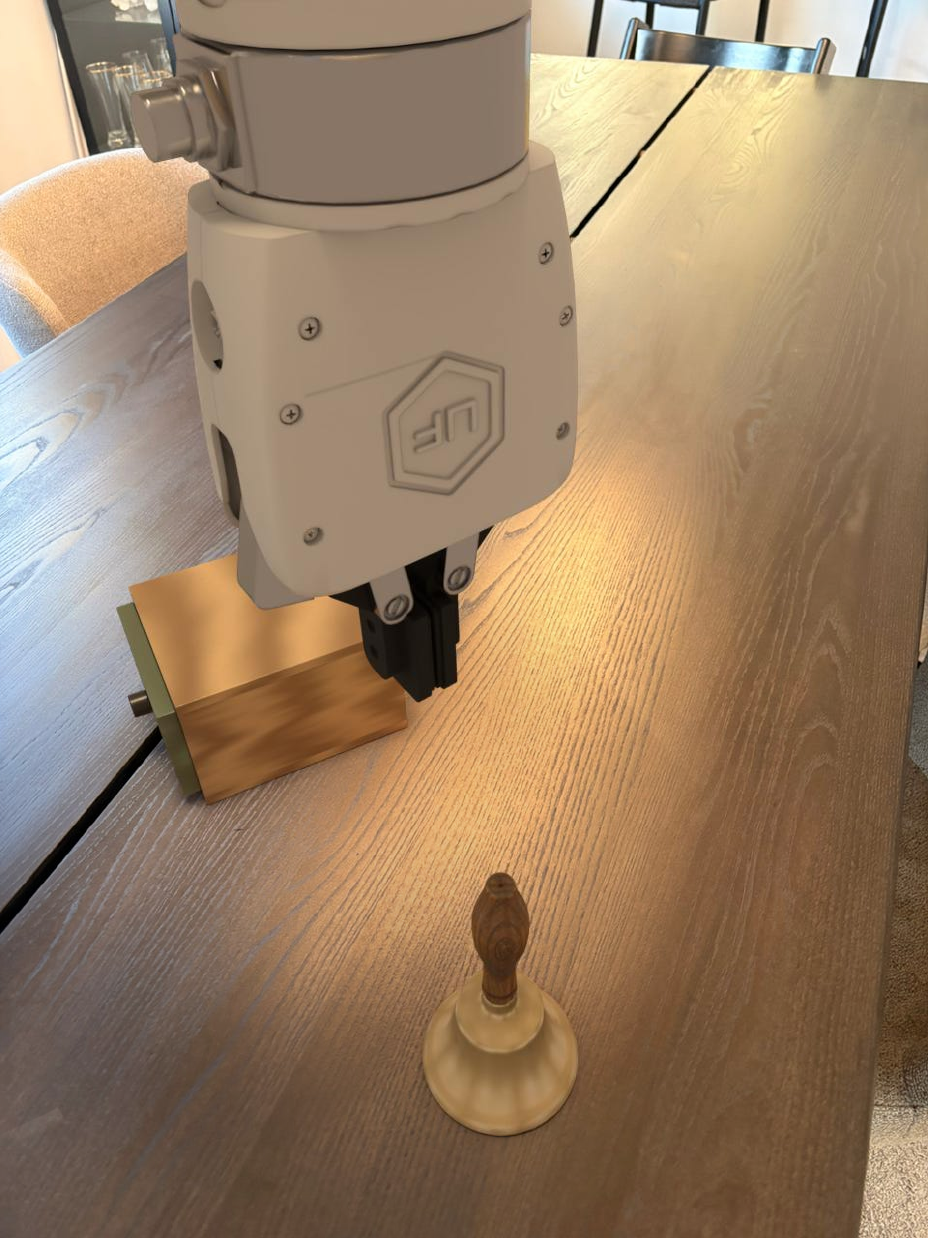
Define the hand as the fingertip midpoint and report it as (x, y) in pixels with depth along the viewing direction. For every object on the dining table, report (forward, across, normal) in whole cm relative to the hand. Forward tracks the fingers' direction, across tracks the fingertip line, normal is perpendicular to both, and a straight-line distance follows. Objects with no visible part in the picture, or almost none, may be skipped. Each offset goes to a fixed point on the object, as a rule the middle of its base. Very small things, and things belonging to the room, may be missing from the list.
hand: (414, 669), depth 34 cm
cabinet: (+27, +3, +26) cm, 38 cm away
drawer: (+26, +1, +26) cm, 37 cm away
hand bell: (+27, +1, -4) cm, 28 cm away
